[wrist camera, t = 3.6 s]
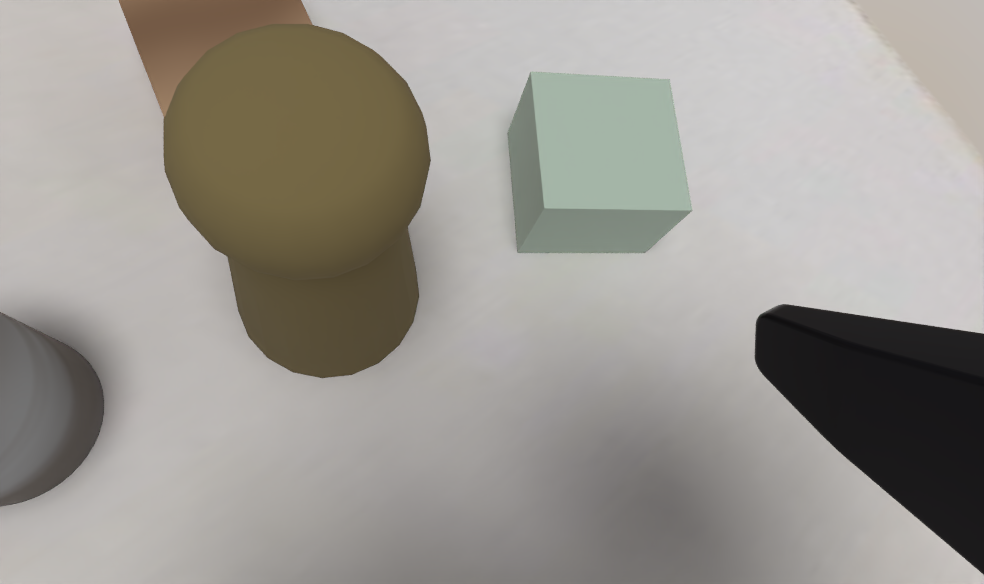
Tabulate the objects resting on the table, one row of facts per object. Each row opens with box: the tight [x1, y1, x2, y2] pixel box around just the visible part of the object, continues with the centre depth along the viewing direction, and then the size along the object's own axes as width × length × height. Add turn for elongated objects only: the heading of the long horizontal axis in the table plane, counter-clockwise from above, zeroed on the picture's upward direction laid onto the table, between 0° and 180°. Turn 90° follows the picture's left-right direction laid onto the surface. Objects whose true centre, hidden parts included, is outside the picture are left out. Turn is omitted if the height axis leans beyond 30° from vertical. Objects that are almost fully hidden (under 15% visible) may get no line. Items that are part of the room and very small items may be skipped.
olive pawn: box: [164, 24, 431, 378], centre depth 17 cm, size 6×6×11 cm
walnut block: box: [119, 0, 312, 117], centre depth 21 cm, size 6×5×4 cm
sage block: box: [508, 72, 692, 253], centre depth 23 cm, size 5×5×4 cm
